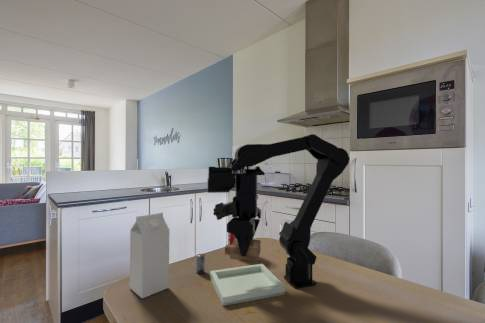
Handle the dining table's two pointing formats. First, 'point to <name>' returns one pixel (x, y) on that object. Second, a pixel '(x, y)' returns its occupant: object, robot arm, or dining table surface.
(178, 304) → the dining table surface
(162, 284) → the milk carton
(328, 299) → the dining table surface
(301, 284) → the robot arm
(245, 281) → the tray
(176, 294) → the dining table surface
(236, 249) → the ring
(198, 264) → the cylinder
